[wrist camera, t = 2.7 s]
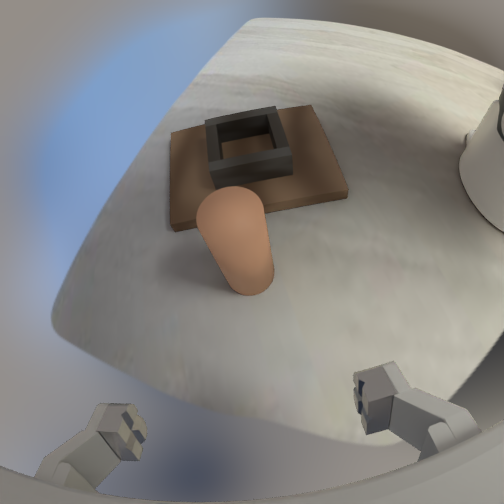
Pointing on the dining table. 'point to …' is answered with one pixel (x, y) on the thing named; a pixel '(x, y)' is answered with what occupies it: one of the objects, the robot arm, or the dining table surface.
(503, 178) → the robot arm
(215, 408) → the dining table surface
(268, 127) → the collar stand
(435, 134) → the dining table surface
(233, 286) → the peg
